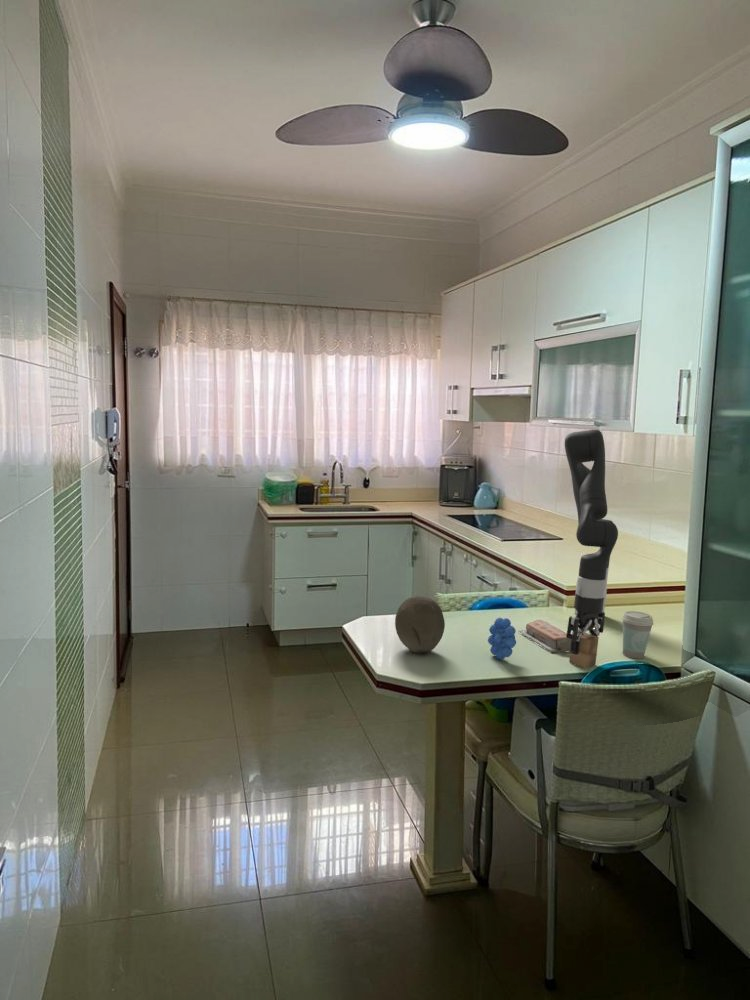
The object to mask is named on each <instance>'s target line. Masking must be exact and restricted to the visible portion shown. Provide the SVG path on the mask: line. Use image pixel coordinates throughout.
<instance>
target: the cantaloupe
mask: <svg viewBox="0 0 750 1000" xmlns="http://www.w3.org/2000/svg"><path fill="white" fill-rule="evenodd" d="M394 618H395V620H394V621H395V623H394V627H395V631H396V634H397V636H398V640H400V642H401V643H402V645H404V647H406V648H407V649H408V650H409V651H411V652H413V653H417V654H426V653H429V652H432V651H433V650H434V649H435V648H436V647H437V646H438V644H439V643H440V642H441V640H442V637H443V635H444V632H445V626H446V624H445V623H446V622H445V617H444V614H443V611H442V609H441V607H440V605H439V603H438V602H437V601H436V600H434V598H433V599H432V598H430V597H425V596H419V595H417V596H412V597H408V598H407V599H405V600H403V602H402V603H401V604H400V605H399V607H398V608H397V611H396V615H395V617H394Z"/></svg>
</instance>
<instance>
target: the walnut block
mask: <svg viewBox="0 0 750 1000" xmlns="http://www.w3.org/2000/svg"><path fill="white" fill-rule="evenodd" d="M578 634H579V633H577V636H578ZM598 646H599V636H598V637H597V636H594V635H591V634H590V633H587V632H586V633H585V635H582V637H581V639H580V647H579V654H577V655H575V654H572V653H571V652H569V653H570V654H569V661H568V663H569V662H570V663H569V664H571V663H572V664H571V665H574V664H575V666H577V667H580V668H583V669H588V668H591V667H594V666H596V663H597V655H598Z"/></svg>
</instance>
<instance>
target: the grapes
mask: <svg viewBox="0 0 750 1000" xmlns="http://www.w3.org/2000/svg"><path fill="white" fill-rule="evenodd" d="M488 630H489V633H490V635H489V636H488V639H487V642H488V644H489V645H490V646H491V647H490V649H489V651H490V653H491V654H492V655H494V656H495V657H496V659H497V660H499V659H500V661H503V660H504V659H506V658H510V657H511V655H512V654H513V648H515V646H516V645H517V641H516V628H515V626H513V625H512V621H511V620H510V619H509V618H507V617H506V618H505V617H504V618H502V617H497V618H496V619H495V621H494V623H493V624H491V625H490V627H489V629H488Z"/></svg>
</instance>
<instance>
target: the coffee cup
mask: <svg viewBox="0 0 750 1000" xmlns="http://www.w3.org/2000/svg"><path fill="white" fill-rule="evenodd" d="M621 620H622V654H623V656H625V657H628V658H631V659H638V660H639V659H644V658H645V654H646V650H647V646H648V643H649V639H650V635H651V631H652V626H654V619H653V616H652V615H651V614H648V613H646V612H641V611H634V610H628V611H625V612H624V614H623V616H622V618H621Z"/></svg>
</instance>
